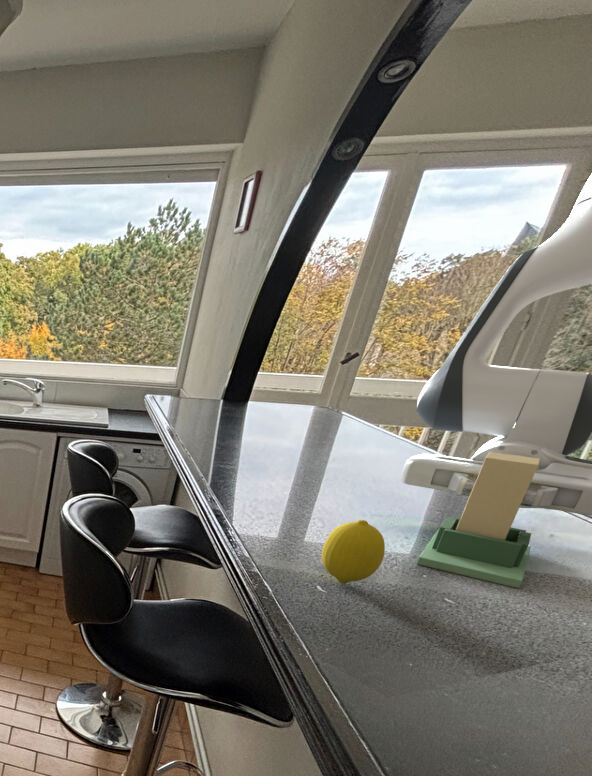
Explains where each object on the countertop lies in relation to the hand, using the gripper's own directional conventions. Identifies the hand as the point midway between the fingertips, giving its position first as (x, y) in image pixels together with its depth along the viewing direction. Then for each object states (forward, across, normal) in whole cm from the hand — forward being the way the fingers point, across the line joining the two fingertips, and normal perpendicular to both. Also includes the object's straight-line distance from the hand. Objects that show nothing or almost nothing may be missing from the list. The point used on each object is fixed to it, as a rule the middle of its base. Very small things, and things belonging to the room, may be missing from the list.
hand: (497, 494), depth 73 cm
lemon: (+21, -9, +9) cm, 25 cm away
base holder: (-1, 0, +9) cm, 9 cm away
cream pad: (-1, 0, +6) cm, 6 cm away
